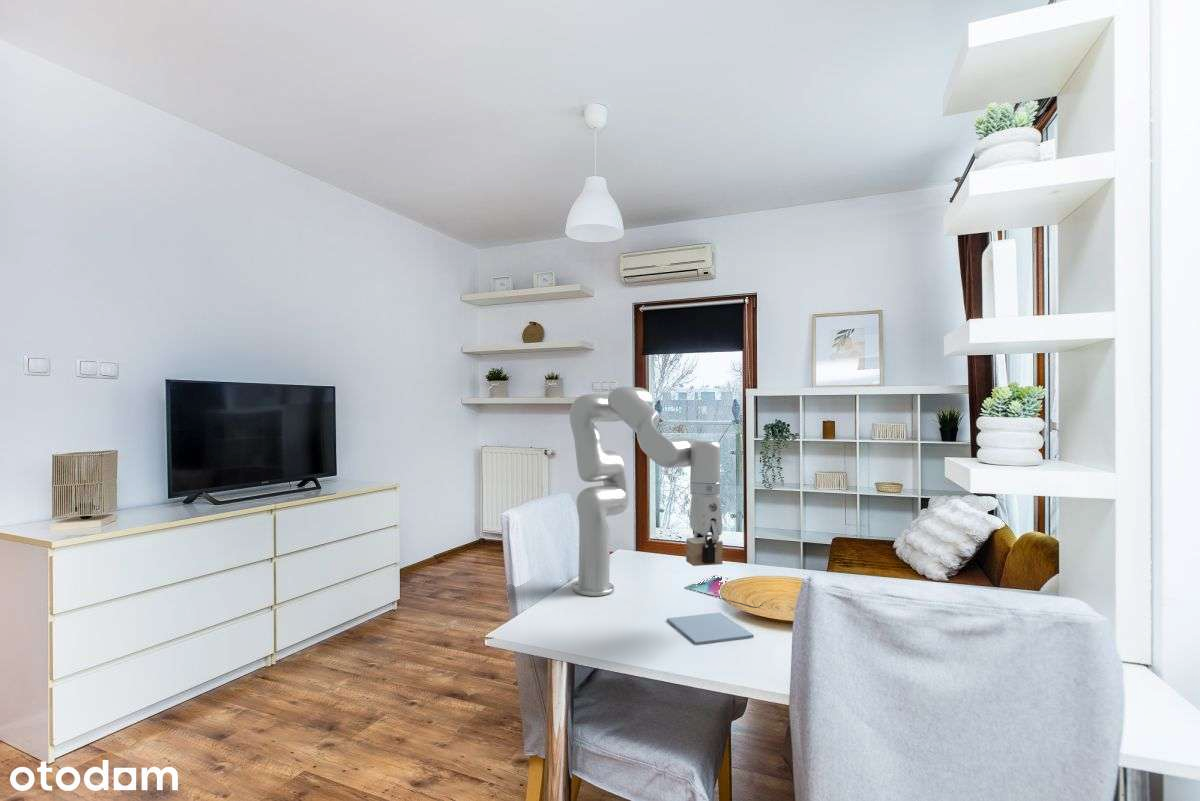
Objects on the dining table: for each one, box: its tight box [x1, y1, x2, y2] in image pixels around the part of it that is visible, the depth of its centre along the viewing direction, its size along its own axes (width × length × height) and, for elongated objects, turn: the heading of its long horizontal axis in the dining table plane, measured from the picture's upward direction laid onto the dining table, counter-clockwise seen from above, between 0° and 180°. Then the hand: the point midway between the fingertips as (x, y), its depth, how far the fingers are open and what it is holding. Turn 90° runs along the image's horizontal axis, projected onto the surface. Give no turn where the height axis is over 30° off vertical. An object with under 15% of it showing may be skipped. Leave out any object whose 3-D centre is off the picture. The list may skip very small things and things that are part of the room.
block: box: [685, 537, 724, 567], centre depth 148 cm, size 8×4×6 cm, turn 105°
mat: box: [666, 612, 755, 646], centre depth 148 cm, size 16×16×1 cm
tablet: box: [683, 575, 729, 599], centre depth 179 cm, size 19×25×1 cm
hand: (704, 559), depth 148 cm, fingers closed on block, 4 cm apart
